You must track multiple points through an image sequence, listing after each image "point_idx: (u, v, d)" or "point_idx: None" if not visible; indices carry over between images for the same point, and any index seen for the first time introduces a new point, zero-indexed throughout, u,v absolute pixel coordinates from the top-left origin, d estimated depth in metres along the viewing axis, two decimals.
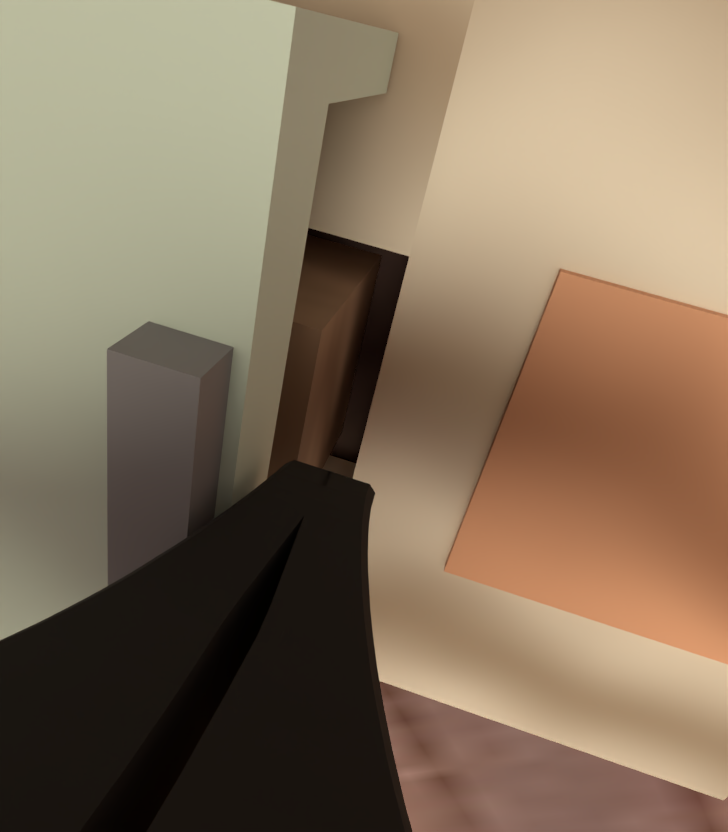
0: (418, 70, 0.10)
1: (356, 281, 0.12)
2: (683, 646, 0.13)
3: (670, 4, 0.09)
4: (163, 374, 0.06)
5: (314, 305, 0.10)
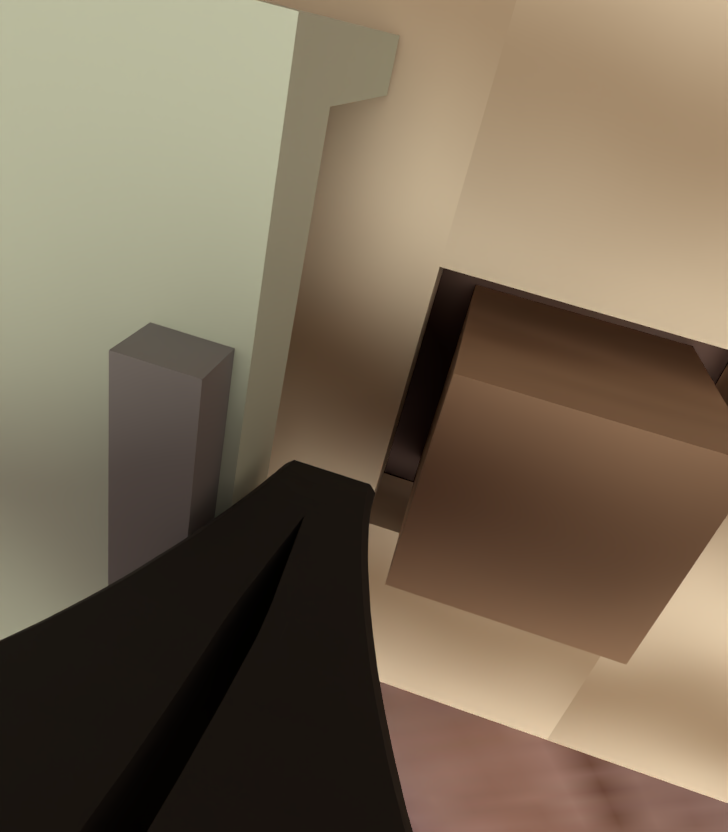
0: None
1: (713, 387, 0.11)
2: None
3: None
4: (164, 375, 0.06)
5: (719, 428, 0.10)
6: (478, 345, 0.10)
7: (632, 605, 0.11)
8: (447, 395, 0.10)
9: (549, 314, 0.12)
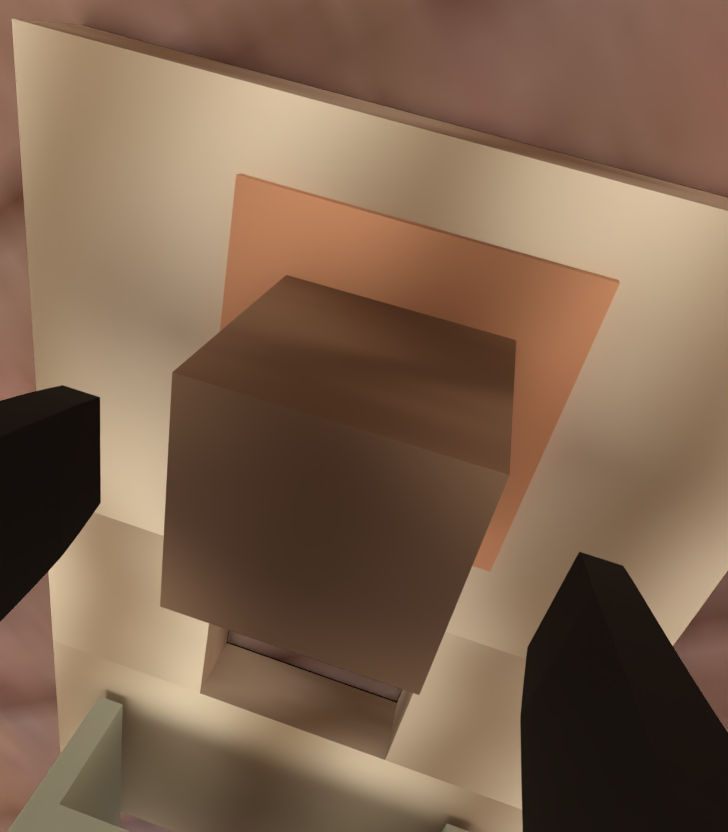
0: (119, 536, 0.17)
1: (245, 313, 0.10)
2: (574, 369, 0.12)
3: None
4: None
5: None
6: None
7: (396, 472, 0.08)
8: (183, 611, 0.10)
9: None
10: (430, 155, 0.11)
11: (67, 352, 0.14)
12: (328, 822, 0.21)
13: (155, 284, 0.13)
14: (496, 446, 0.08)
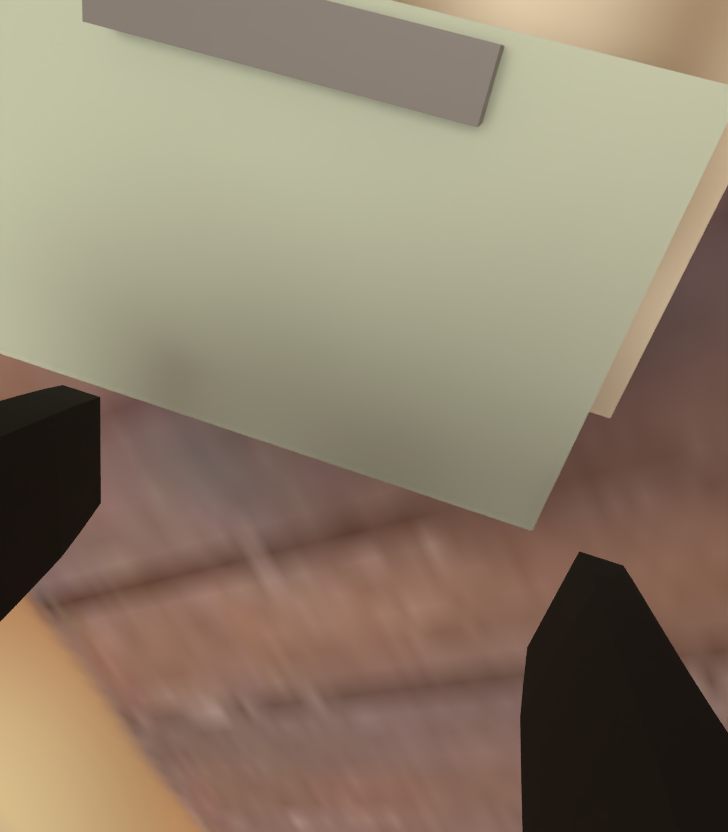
0: None
1: None
2: None
3: None
4: None
5: None
6: None
7: None
8: None
9: None
10: None
11: None
12: None
13: None
14: None
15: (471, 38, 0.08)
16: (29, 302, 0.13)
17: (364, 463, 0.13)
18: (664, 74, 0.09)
